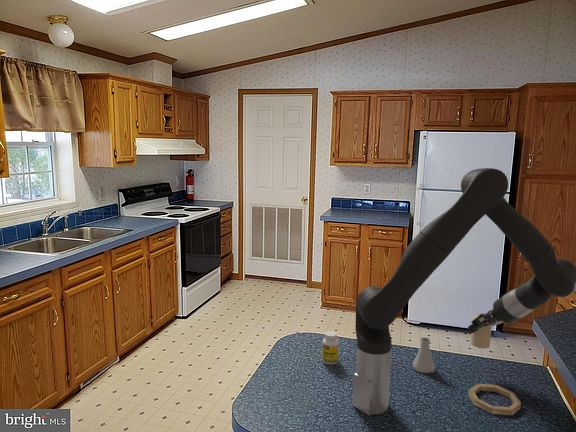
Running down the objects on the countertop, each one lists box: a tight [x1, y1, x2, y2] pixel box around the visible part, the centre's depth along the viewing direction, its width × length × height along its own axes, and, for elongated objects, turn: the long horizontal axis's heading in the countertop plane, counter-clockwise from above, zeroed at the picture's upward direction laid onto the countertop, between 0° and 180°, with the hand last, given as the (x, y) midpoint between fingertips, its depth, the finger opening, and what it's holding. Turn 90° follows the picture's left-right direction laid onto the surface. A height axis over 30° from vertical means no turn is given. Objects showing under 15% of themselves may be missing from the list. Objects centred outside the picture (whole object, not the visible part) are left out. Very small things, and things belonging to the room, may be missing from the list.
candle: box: [470, 313, 493, 349], centre depth 134 cm, size 6×6×10 cm
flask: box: [412, 336, 436, 374], centre depth 137 cm, size 7×7×10 cm
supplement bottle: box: [321, 330, 339, 365], centre depth 141 cm, size 5×5×10 cm
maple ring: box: [468, 383, 522, 416], centre depth 120 cm, size 12×12×2 cm
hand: (476, 328), depth 135 cm, fingers closed on candle, 5 cm apart
